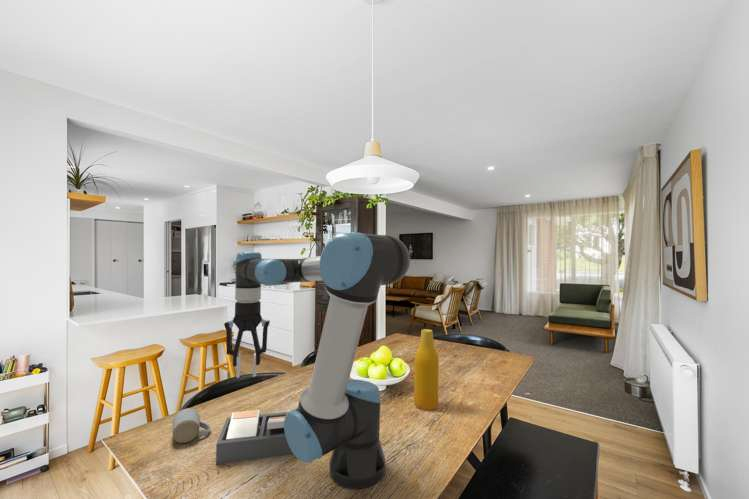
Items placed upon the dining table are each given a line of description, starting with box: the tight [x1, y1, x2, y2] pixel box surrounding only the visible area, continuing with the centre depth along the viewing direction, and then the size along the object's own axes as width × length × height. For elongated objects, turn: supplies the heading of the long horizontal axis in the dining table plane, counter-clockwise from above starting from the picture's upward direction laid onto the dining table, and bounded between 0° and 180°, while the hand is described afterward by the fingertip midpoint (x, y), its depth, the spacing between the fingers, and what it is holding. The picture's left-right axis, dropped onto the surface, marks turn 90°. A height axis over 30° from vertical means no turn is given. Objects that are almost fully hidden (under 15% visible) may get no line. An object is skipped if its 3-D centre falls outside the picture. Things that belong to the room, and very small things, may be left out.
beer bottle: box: [413, 328, 440, 411], centre depth 129 cm, size 9×9×29 cm
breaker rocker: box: [226, 409, 261, 440], centre depth 100 cm, size 10×9×2 cm
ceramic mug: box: [171, 408, 211, 444], centre depth 105 cm, size 11×8×8 cm
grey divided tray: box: [215, 411, 295, 465], centre depth 101 cm, size 15×23×8 cm, turn 104°
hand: (246, 375), depth 104 cm, fingers open, 4 cm apart
